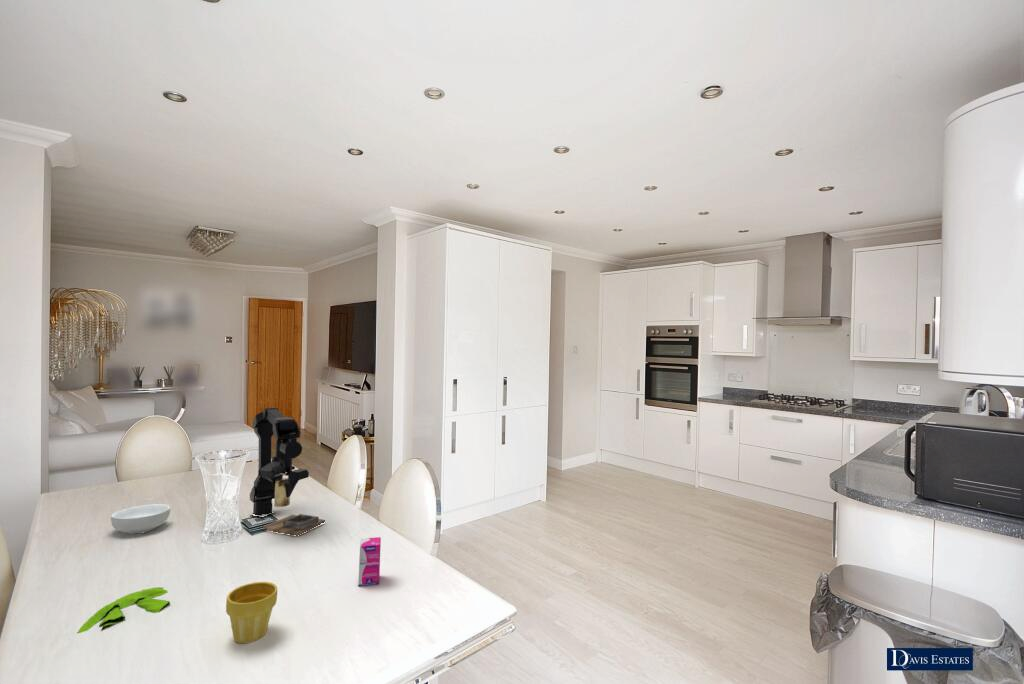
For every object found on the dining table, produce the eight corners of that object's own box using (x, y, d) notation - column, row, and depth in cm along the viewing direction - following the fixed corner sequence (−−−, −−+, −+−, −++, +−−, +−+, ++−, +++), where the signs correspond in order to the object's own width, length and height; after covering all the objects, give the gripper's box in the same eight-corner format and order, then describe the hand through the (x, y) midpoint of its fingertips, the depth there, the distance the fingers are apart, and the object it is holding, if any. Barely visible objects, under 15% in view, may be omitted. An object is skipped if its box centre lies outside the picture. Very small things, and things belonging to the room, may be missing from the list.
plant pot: (283, 621, 112) (285, 580, 112) (262, 648, 101) (264, 603, 102) (240, 621, 111) (242, 580, 112) (214, 648, 101) (216, 603, 101)
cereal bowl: (181, 523, 174) (181, 504, 175) (141, 540, 158) (142, 519, 158) (140, 520, 176) (141, 502, 176) (96, 537, 160) (98, 517, 160)
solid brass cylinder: (271, 505, 166) (272, 480, 166) (282, 501, 171) (283, 477, 171) (281, 507, 164) (282, 482, 165) (292, 503, 169) (293, 479, 169)
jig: (262, 530, 168) (262, 521, 168) (291, 518, 182) (292, 509, 182) (297, 537, 163) (297, 527, 163) (324, 523, 176) (325, 514, 177)
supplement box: (358, 587, 129) (359, 545, 129) (359, 577, 135) (360, 537, 135) (379, 584, 130) (380, 544, 131) (379, 575, 136) (380, 536, 137)
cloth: (166, 584, 130) (167, 575, 130) (192, 613, 116) (192, 603, 116) (67, 614, 114) (67, 604, 114) (82, 652, 100) (83, 640, 100)
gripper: (245, 455, 164) (244, 499, 163) (286, 460, 158) (284, 506, 157) (271, 449, 174) (270, 491, 174) (310, 454, 168) (309, 497, 168)
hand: (282, 496), depth 168 cm, fingers closed on solid brass cylinder, 5 cm apart
